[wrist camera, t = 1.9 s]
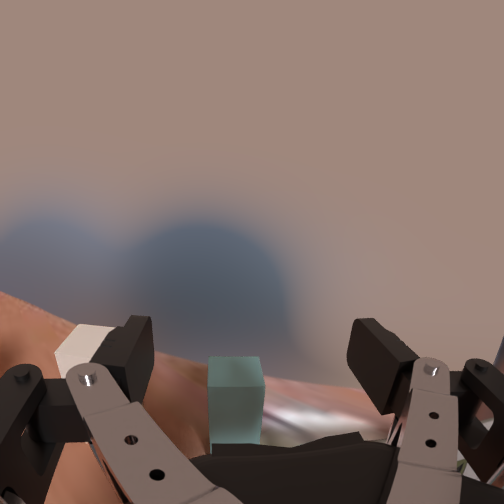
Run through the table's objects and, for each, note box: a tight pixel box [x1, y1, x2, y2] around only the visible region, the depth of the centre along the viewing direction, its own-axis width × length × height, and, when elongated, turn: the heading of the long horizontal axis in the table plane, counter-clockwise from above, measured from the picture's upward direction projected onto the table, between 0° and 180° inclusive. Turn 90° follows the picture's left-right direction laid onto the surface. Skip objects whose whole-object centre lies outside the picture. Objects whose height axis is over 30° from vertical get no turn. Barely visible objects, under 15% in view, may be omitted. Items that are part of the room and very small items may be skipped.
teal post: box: [207, 356, 265, 454], centre depth 26 cm, size 4×4×11 cm
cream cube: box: [55, 324, 114, 378], centre depth 25 cm, size 6×6×6 cm
